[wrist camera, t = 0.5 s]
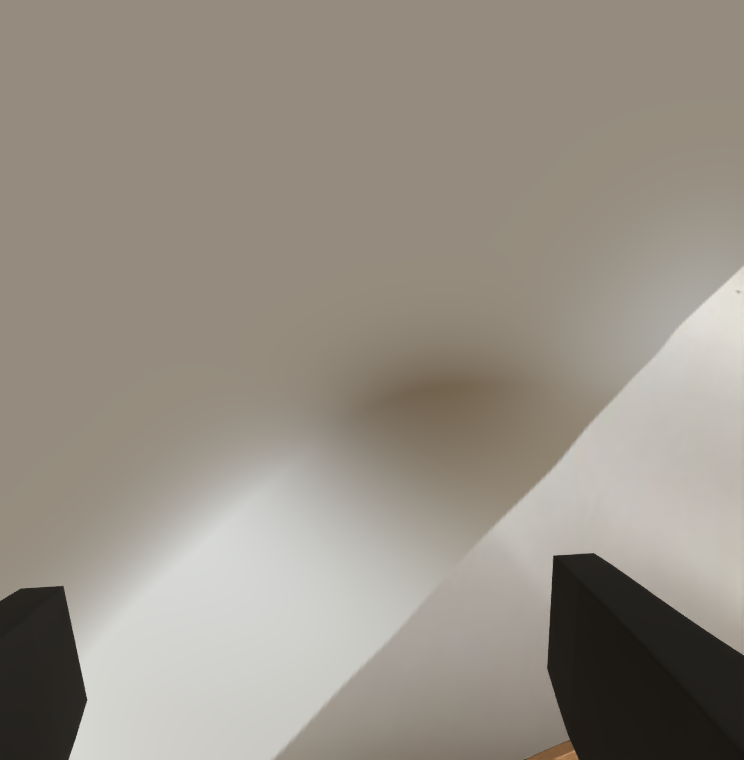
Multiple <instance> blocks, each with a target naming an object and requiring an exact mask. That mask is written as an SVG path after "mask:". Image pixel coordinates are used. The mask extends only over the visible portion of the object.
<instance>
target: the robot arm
mask: <svg viewBox="0 0 744 760" xmlns="http://www.w3.org/2000/svg"><path fill="white" fill-rule="evenodd" d="M547 669H548V672H549V676H550V679H551V682H552V686H553V689H554V692H555V696H556V699H557V702H558V706H559V709H560V712H561V715H562V718H563V721H564V724H565V727H566V730H567V733H568V736H569V739H570V741H571V743H572V745H573V748H574V750H575V752H576V755H577V757H578V759H579V760H744V655H742V654H741V653H739V652H738V651H736V650H735V649H733V648H732V647H730V646H728V645H727V644H725V643H724V642H722V641H721V640H719V639H718V638H716V637H715V636H713V635H712V634H710V633H709V632H707V631H706V630H704V629H703V628H701V627H700V626H698V625H697V624H695V623H694V622H692V621H691V620H690V619H688V618H687V617H685V616H684V615H682V614H681V613H679V612H678V611H677V610H675V609H674V608H672V607H671V606H669V605H668V604H666V603H665V602H664V601H662V600H661V599H659V598H658V597H657V596H655V595H654V594H652V593H651V592H650V591H648V590H647V589H645V588H644V587H642V586H641V585H640V584H638V583H637V582H635V581H634V580H633V579H631V578H630V577H628V576H627V575H626V574H624V573H623V572H621V571H620V570H618V569H617V568H616V567H614V566H613V565H611V564H610V563H608V562H607V561H605V560H604V559H602V558H601V557H599V556H597V555H596V554H594V553H589V554H573V555H557V556H553V573H552V591H551V610H550V628H549V646H548V665H547ZM86 702H87V697H86V692H85V687H84V682H83V678H82V673H81V668H80V663H79V659H78V654H77V649H76V644H75V639H74V635H73V630H72V625H71V620H70V616H69V611H68V606H67V601H66V596H65V592H64V587H63V586H56V587H40V588H25V589H19V590H18V591H16V592H14V593H13V594H11V595H9V596H8V597H6V598H5V599H3V600H1V601H0V760H68V759H69V756H70V753H71V751H72V748H73V744H74V742H75V739H76V735H77V732H78V729H79V725H80V722H81V719H82V716H83V712H84V709H85V705H86Z"/></svg>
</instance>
